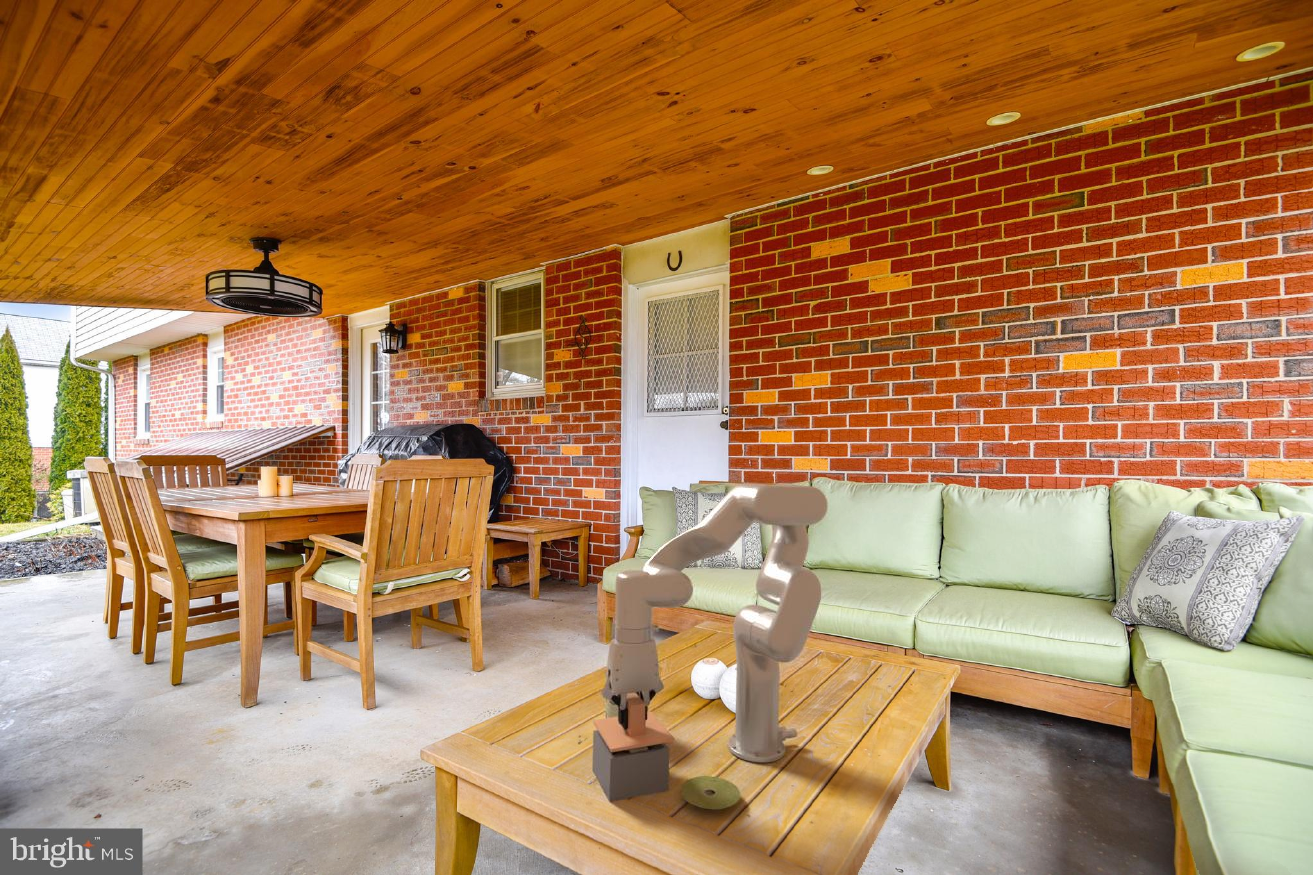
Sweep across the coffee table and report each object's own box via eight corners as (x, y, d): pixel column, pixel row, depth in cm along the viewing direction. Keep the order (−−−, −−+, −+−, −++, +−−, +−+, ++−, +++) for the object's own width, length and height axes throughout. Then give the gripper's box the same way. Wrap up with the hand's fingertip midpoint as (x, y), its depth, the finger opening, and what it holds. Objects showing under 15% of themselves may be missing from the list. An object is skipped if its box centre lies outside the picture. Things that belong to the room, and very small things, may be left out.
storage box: (646, 760, 129) (647, 722, 129) (668, 790, 118) (669, 748, 118) (592, 770, 124) (593, 730, 125) (609, 801, 113) (610, 758, 113)
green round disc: (696, 779, 122) (696, 769, 122) (749, 796, 116) (749, 786, 116) (669, 806, 112) (669, 795, 112) (725, 826, 106) (725, 815, 107)
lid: (651, 717, 130) (651, 683, 130) (674, 745, 118) (674, 706, 118) (593, 727, 125) (593, 691, 125) (611, 756, 113) (611, 716, 113)
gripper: (664, 624, 128) (663, 711, 128) (589, 632, 122) (588, 723, 122) (678, 634, 121) (677, 727, 121) (599, 643, 115) (598, 740, 115)
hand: (632, 724), depth 121 cm, fingers closed on lid, 3 cm apart
